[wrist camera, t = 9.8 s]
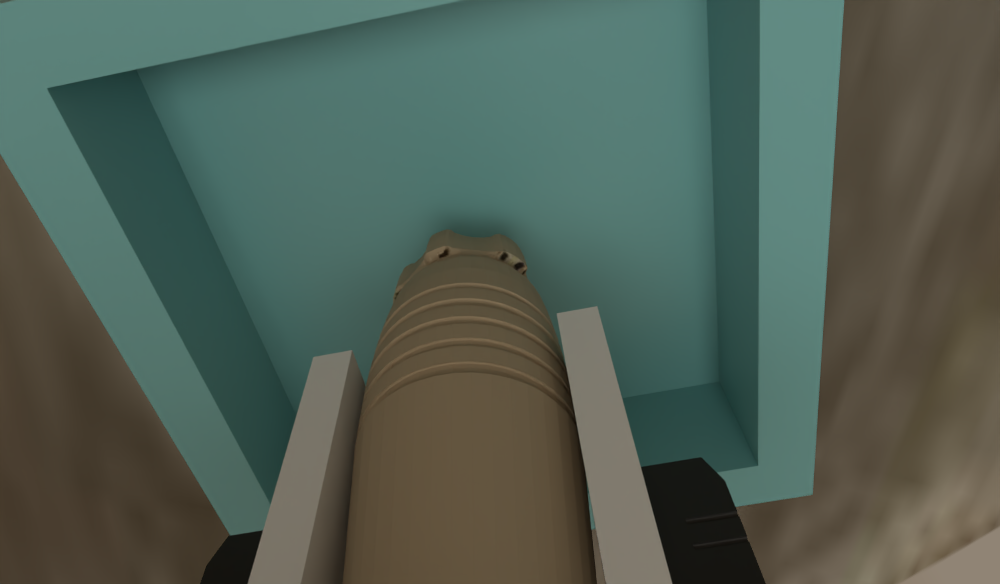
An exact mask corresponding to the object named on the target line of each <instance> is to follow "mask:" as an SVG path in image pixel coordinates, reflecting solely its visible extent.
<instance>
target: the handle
mask: <svg viewBox="0 0 1000 584" xmlns="http://www.w3.org/2000/svg"><path fill="white" fill-rule="evenodd" d="M526 271H527V264H526V261H525V258H524V255H523V253H522V251H521V250H520V248H519V247H518V245H517V244H516V243H515V242H514V241H513V240H512V239H510V238H508V237H506V236H505V235H501V234H494V235H493V236H491V237H483V238H482V237H469V236H464V235H460V234H457V233H454V232H453V231H452V230H448V229H446V230H443V231H440V232H438V233H436V234H434V235H432V236H431V237H430V239H429V242H428V245H427V248H426V251H425V253H424V254H423V256H422V257H421V258H420V259H419V260H418V261H416V262H415V263H412V264H409V265H408V266H406V267H405V268H404V270H403V271H402V273H401V275H400V277H399V280H398V283H397V286H396V289H395V293H394V296H393V306H392V308H391V310H390V312H389V314H388V316H387V319H386V321H385V324H384V326H383V329H382V331H381V334H380V338H379V340H378V344H377V347H376V350H375V354H374V358H373V360H372V364H371V367H370V371H369V375H368V379H367V383H366V388H365V392H364V397H363V402H362V408H361V414H360V419H359V425H358V430H357V440H356V444H355V450H354V461H353V472H352V484H351V495H350V506H349V517H348V528H347V539H346V550H345V561H344V572H343V584H597V580H596V570H595V560H594V551H593V541H592V531H591V521H590V511H589V501H588V491H587V481H586V472H585V467H584V461H583V456H582V450H581V445H580V439H579V434H578V428H577V423H576V417H575V412H574V406H573V401H572V395H571V390H570V384H569V379H568V373H567V368H566V365H565V363H564V358H563V354H562V351H561V347H560V345H559V341H558V338H557V335H556V332H555V330H554V327H553V324H552V321H551V319H550V316H549V314H548V311H547V309H546V307H545V305H544V303H543V301H542V298H541V296H540V295H539V293H538V292H537V290H536V289H535V287H534V286H533V285H532V284H531V282H530V281H529V280H528V279H527V275H526Z"/></svg>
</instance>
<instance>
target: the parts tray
mask: <svg viewBox="0 0 1000 584" xmlns="http://www.w3.org/2000/svg"><path fill="white" fill-rule="evenodd" d="M843 9H844V0H0V154H1V156H2V157H3V159H4V161H5V162H6V164H7V166H8V167H9V169H10V171H11V172H12V174H13V176H14V177H15V179H16V181H17V182H18V184H19V186H20V187H21V189H22V191H23V192H24V194H25V196H26V197H27V199H28V201H29V202H30V204H31V206H32V207H33V209H34V211H35V212H36V214H37V216H38V217H39V219H40V221H41V222H42V224H43V225H44V227H45V229H46V230H47V232H48V234H49V235H50V237H51V239H52V240H53V242H54V244H55V245H56V247H57V249H58V250H59V252H60V254H61V255H62V257H63V259H64V260H65V262H66V264H67V265H68V267H69V269H70V270H71V272H72V274H73V275H74V277H75V279H76V280H77V282H78V284H79V285H80V287H81V289H82V290H83V292H84V294H85V295H86V297H87V299H88V300H89V302H90V303H91V305H92V307H93V308H94V310H95V312H96V313H97V315H98V317H99V318H100V320H101V322H102V323H103V325H104V327H105V328H106V330H107V332H108V333H109V335H110V337H111V338H112V340H113V342H114V343H115V345H116V347H117V348H118V350H119V352H120V353H121V355H122V357H123V358H124V360H125V362H126V363H127V365H128V367H129V368H130V370H131V372H132V373H133V375H134V377H135V378H136V380H137V381H138V383H139V385H140V386H141V388H142V390H143V391H144V393H145V395H146V396H147V398H148V400H149V401H150V403H151V405H152V406H153V408H154V410H155V411H156V413H157V415H158V416H159V418H160V420H161V421H162V423H163V425H164V426H165V428H166V430H167V431H168V433H169V435H170V436H171V438H172V440H173V441H174V443H175V445H176V446H177V448H178V450H179V451H180V453H181V455H182V456H183V458H184V459H185V461H186V463H187V464H188V466H189V468H190V469H191V471H192V473H193V474H194V476H195V478H196V479H197V481H198V483H199V484H200V486H201V488H202V489H203V491H204V493H205V494H206V496H207V498H208V499H209V501H210V503H211V504H212V506H213V508H214V509H215V511H216V513H217V514H218V516H219V518H220V519H221V521H222V523H223V524H224V526H225V528H226V529H227V531H228V533H229V534H230V535H237V534H243V533H249V532H255V531H261V530H263V529H264V526H265V522H266V519H267V515H268V512H269V508H270V505H271V502H272V498H273V495H274V491H275V488H276V484H277V481H278V477H279V474H280V471H281V467H282V464H283V460H284V457H285V453H286V450H287V446H288V443H289V440H290V436H291V433H292V429H293V426H294V422H295V419H296V415H297V412H298V409H299V405H300V402H301V398H302V395H303V391H304V388H305V384H306V381H307V377H308V374H309V371H310V367H311V364H312V360H313V357H316V356H322V355H327V354H333V353H339V352H344V351H350V350H352V351H353V354H354V356H355V359H356V362H357V364H358V367H359V369H360V372H361V375H362V377H363V380H364V383H365V385H366V383H367V379H368V375H369V371H370V367H371V364H372V360H373V358H374V354H375V350H376V347H377V344H378V340H379V338H380V334H381V331H382V329H383V326H384V324H385V321H386V319H387V316H388V314H389V312H390V310H391V308H392V306H393V296H394V293H395V289H396V286H397V283H398V280H399V277H400V275H401V273H402V271H403V270H404V268H405V267H406V266H408V265H409V264H412V263H415V262H416V261H418V260H419V259H420V258H421V257H422V256H423V254H424V253H425V251H426V248H427V245H428V242H429V239H430V237H431V236H432V235H434V234H436V233H438V232H440V231H443V230H446V229H448V230H452V231H453V232H454V233H457V234H460V235H464V236H469V237H482V238H483V237H491V236H493V235H494V234H501V235H505V236H506V237H508V238H510V239H512V240H513V241H514V242H515V243H516V244H517V245H518V247H519V248H520V250H521V251H522V253H523V255H524V258H525V261H526V264H527V271H526V275H527V279H528V280H529V281H530V282H531V284H532V285H533V286H534V287H535V289H536V290H537V292H538V293H539V295H540V296H541V298H542V301H543V303H544V305H545V307H546V309H547V311H548V314H549V316H550V319H551V321H552V324H553V327H554V330H555V332H556V335H557V338H558V341H559V345H560V347H561V351H562V354H563V358H564V363H565V357H564V351H563V346H562V340H561V335H560V329H559V324H558V318H557V313H562V312H567V311H573V310H579V309H584V308H590V307H595V306H597V307H598V311H599V315H600V318H601V322H602V326H603V329H604V333H605V337H606V341H607V344H608V348H609V352H610V355H611V359H612V363H613V366H614V370H615V374H616V378H617V381H618V385H619V389H620V392H621V396H622V400H623V403H624V407H625V411H626V414H627V418H628V422H629V426H630V429H631V433H632V437H633V440H634V444H635V448H636V451H637V455H638V459H639V463H640V466H641V467H643V466H649V465H655V464H661V463H668V462H674V461H680V460H686V459H692V458H698V457H702V458H703V459H704V460H705V461H706V462H707V463H708V464H709V465H710V466H711V467H712V468H713V469H714V470H715V471H716V472H717V473H718V474H719V475H720V476H721V477H722V478H723V479H724V480H725V482H726V484H727V487H728V489H729V492H730V494H731V497H732V500H733V502H734V505H735V507H738V506H744V505H750V504H757V503H763V502H769V501H776V500H782V499H788V498H795V497H801V496H807V495H813V479H814V464H815V448H816V432H817V417H818V401H819V385H820V370H821V354H822V338H823V323H824V307H825V291H826V276H827V260H828V244H829V229H830V213H831V197H832V182H833V166H834V150H835V135H836V119H837V103H838V88H839V72H840V56H841V41H842V25H843ZM565 365H566V363H565ZM586 481H587V478H586ZM587 491H588V501H589V511H590V521H591V530H592V529H596V527H595V522H594V516H593V511H592V505H591V500H590V494H589V489H588V483H587Z"/></svg>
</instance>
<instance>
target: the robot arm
mask: <svg viewBox="0 0 1000 584" xmlns="http://www.w3.org/2000/svg"><path fill="white" fill-rule="evenodd" d="M557 318H558V324H559V329H560V335H561V340H562V346H563V351H564V357H565V363H566V368H567V373H568V379H569V384H570V390H571V395H572V401H573V406H574V412H575V417H576V423H577V428H578V434H579V439H580V445H581V450H582V456H583V461H584V467H585V472H586V478H587V483H588V489H589V494H590V500H591V505H592V511H593V516H594V522H595V527H596V533H597V538H598V544H599V549H600V555H601V560H602V566H603V571H604V577H605V582H606V584H766V583H765V581H764V578H763V576H762V573H761V571H760V568H759V565H758V563H757V560H756V558H755V555H754V553H753V550H752V548H751V545H750V543H749V542H748V540H747V535H746V532H745V530H744V527H743V525H742V522H741V520H740V517H738V514H737V510H736V507H735V505H734V502H733V500H732V497H731V494H730V492H729V489H728V487H727V484H726V482H725V480H724V479H723V478H722V477H721V476H720V475H719V474H718V473H717V472H716V471H715V470H714V469H713V468H712V467H711V466H710V465H709V464H708V463H707V462H706V461H705V460H704V459H703V458H702V457H698V458H692V459H686V460H680V461H674V462H668V463H661V464H655V465H649V466H643V467H641V466H640V463H639V459H638V455H637V451H636V448H635V444H634V440H633V437H632V433H631V429H630V426H629V422H628V418H627V414H626V411H625V407H624V403H623V400H622V396H621V392H620V389H619V385H618V381H617V378H616V374H615V370H614V366H613V363H612V359H611V355H610V352H609V348H608V344H607V341H606V337H605V333H604V329H603V326H602V322H601V318H600V315H599V311H598V307H597V306H595V307H590V308H584V309H579V310H573V311H567V312H562V313H557ZM365 388H366V385H365V383H364V380H363V377H362V375H361V372H360V369H359V367H358V364H357V362H356V359H355V356H354V354H353V351H352V350H350V351H344V352H339V353H333V354H327V355H322V356H316V357H313V360H312V364H311V367H310V371H309V374H308V377H307V381H306V384H305V388H304V391H303V395H302V398H301V402H300V405H299V409H298V412H297V415H296V419H295V422H294V426H293V429H292V433H291V436H290V440H289V443H288V446H287V450H286V453H285V457H284V460H283V464H282V467H281V471H280V474H279V477H278V481H277V484H276V488H275V491H274V495H273V498H272V502H271V505H270V508H269V512H268V515H267V519H266V522H265V526H264V529H263V530H261V531H255V532H249V533H243V534H237V535H230V536H228V538H227V539H226V540H225V542H224V543H223V544H222V546H221V547H220V548H219V550H218V551H217V552H216V554H215V555H214V556H213V558H212V559H211V560H210V562H209V563H208V564H207V566H206V569H205V572H204V575H203V577H202V580H201V583H200V584H343V572H344V561H345V550H346V539H347V528H348V517H349V506H350V495H351V484H352V472H353V461H354V450H355V444H356V440H357V430H358V425H359V419H360V414H361V408H362V402H363V397H364V392H365Z"/></svg>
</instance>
